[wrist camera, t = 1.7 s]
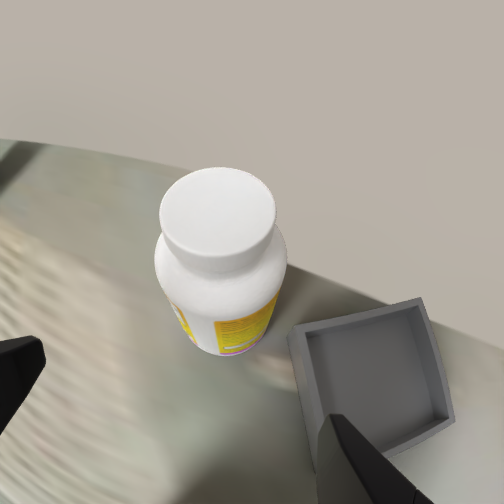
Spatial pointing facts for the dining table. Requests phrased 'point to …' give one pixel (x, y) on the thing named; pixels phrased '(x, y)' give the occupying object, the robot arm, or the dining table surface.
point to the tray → (373, 376)
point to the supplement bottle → (221, 257)
